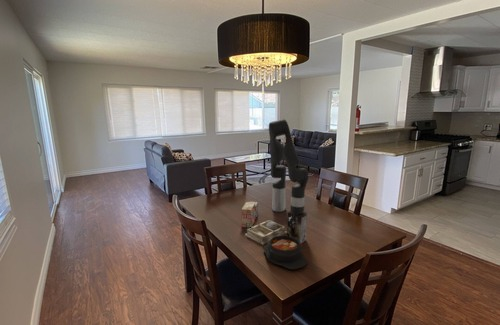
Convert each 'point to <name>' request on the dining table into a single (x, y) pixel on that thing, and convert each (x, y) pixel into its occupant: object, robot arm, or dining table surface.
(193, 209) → the dining table surface
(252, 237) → the caddy
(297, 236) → the coffee box
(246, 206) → the stack of blocks
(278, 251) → the casserole
